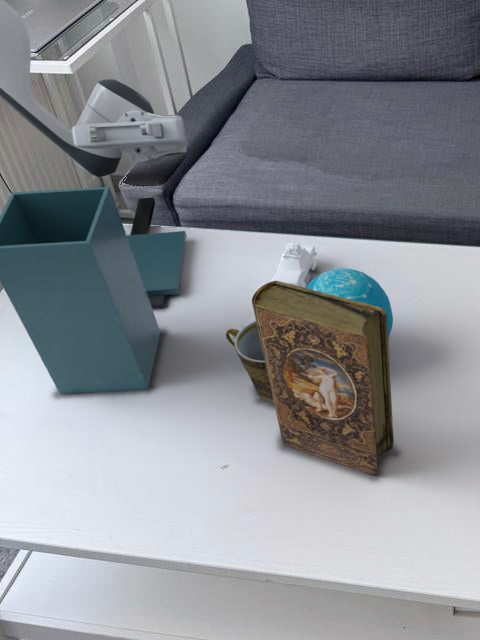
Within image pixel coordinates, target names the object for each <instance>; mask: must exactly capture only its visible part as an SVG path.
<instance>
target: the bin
mask: <svg viewBox="0 0 480 640" xmlns="http://www.w3.org/2000/svg"><path fill="white" fill-rule="evenodd" d="M122 221H123V220H122V219H121V216H120V214H119V210H118V208H117V204H116V202H115V198H114V196H113V193H112V189H111V187H110V186H97V187H81V188H80V187H79V188H64V189H48V190H45V189H44V190H31V191H29V190H28V191H14V192H13V191H12V192H10V195H9V197H8V199H7V201H6V203H5V205H4V207H3V209H2V211H1V213H0V284H1V286H2V287H3V290H4V291H5V293H6V295H7V297H8V299H9V301H10V302H11V305H12V307H13V308H14V310H15V312H16V314H17V316H18V318H19V319H20V321H21V324H22V325H23V327H24V329H25V331H26V333H27V334H28V337H29V338H30V341H31V342H32V344H33V346H34V348H35V350H36V352H37V353H38V356H39V358H40V360H41V362H42V364H43V365H44V367H45V369H46V371H47V372H48V375H49V376H50V378H51V380H52V382H53V384H54V386H55V388H56V390H57V392H58V393H59V395H73V394H90V393H92V394H93V393H109V392H110V393H111V392H125V391H144V390H148V389H149V385H150V381H151V377H152V372H153V368H154V363H155V359H156V354H157V350H158V346H159V341H160V336H161V329H160V327H159V325H158V324H159V323H158V321H157V318H156V316H155V312H154V310H153V309H154V308H152V307H151V304H150V301H149V298H148V295H147V292H146V290H145V287H144V284H143V281H142V278H141V275H140V272H139V270H138V267H137V264H136V261H135V258H134V255H133V253H132V250H131V247H130V244H129V241H128V238H127V233H126V230H125V227H124V224H123V222H122Z"/></svg>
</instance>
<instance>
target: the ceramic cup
mask: <svg viewBox="0 0 480 640" xmlns="http://www.w3.org/2000/svg"><path fill="white" fill-rule="evenodd" d="M230 335H231V336H233V337H234V340H233V338H232V337H231V336H230ZM225 337H226V340H227V341H228V342H229V343H230V345H231V346H233V347H234V350H235V351H236V354H237V356H238V358H239V361H240V363H241V364H242V367H243V368H244V370H245V372H246V373H247V375H248V376H249V378H250V379H249V380H250V381H251V383H252V385H253V387H254V389H255V391H256V393H257V395H258V397H259V398H260V400H262V401H264V402H268V403H270V404H273V405H274V401H273V396H272V391H271V387H270V382H269V378H268V373H267V369H266V364H265V359H264V355H263V350H262V346H261V341H260V337H259V332H258V328H257V323H256V320H255V321H252V322H250V323H248V324H246V325H245V326H243V327H242V328H241V329H240V330H239V329H236V328H230V329H228V330H227V331H226V332H225Z"/></svg>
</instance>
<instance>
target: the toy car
mask: <svg viewBox="0 0 480 640" xmlns="http://www.w3.org/2000/svg"><path fill="white" fill-rule="evenodd" d="M317 255H318V252H317V251H316V247H315V246H314V245H308V244H301V243H299V242H293V241H291V242H290V243H287V245H286V246H285V248H284V251H283V253H282V255H281V257H280V260H279V263H278V266H274V269H275V270H276V271H275V273H274V275H273V277H272V278H271V281H270V282H272V281H280V282H284V283H288V284H292V285H295V286H299V287H303V288H306V286H307V285H308V284H309V281H310V278H311V277H310V272H309V271H310V270H311V271H315V270H316V267H317V265H318V262H317V259H316V258H315V257H317Z"/></svg>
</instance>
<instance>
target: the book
mask: <svg viewBox="0 0 480 640" xmlns="http://www.w3.org/2000/svg"><path fill="white" fill-rule="evenodd" d="M271 281H272V280H271ZM271 281H269V282H266V283H265V284H264V285H262V286H261V287H259V288H258V289H257V290H256V291H255V292H254V293H253V296H252V297H251V304H252V309H253V313H254V318H255V321H256V323H257V328H258V332H259V337H260V341H261V346H262V350H263V355H264V359H265V364H266V369H267V373H268V378H269V382H270V387H271V391H272V396H273V401H274V404H273V405H274V409H275V413H276V418H277V423H278V427H279V431H280V437H281V441H282V445H283V447H284V448H287V449H289V450H293V451H296V452H298V453H302V454H305V455H307V456H310V457H314V458H316V459H320V460H323V461H325V462H329V463H332V464H335V465H337V466H341V467H344V468H347V469H350V470H353V471H357V472H360V473H363V474H367V475H369V476H370V475H371V476H376V475H377V474H378V472H379V458H380V457H381V456H382V455H383V454H385V453H387V452H389V451H391V450H392V449H393V448H394V443H395V442H394V424H393V423H394V421H393V404H392V400H393V399H392V385H391V365H390V363H391V362H390V345H389V340H388V326H387V314H386V311H385V310H384V309H383V308H381V307H377V306H373V305H369V304H365V303H361V302H357V301H353V300H350V299H346V298H342V297H338V296H334V295H330V294H326V293H322V292H319V291H315V290H311V289H307V288H306V287H305V288H303V287H299V286H295V285H292V284H288V283H284V282H280V281H272V282H271Z"/></svg>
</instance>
